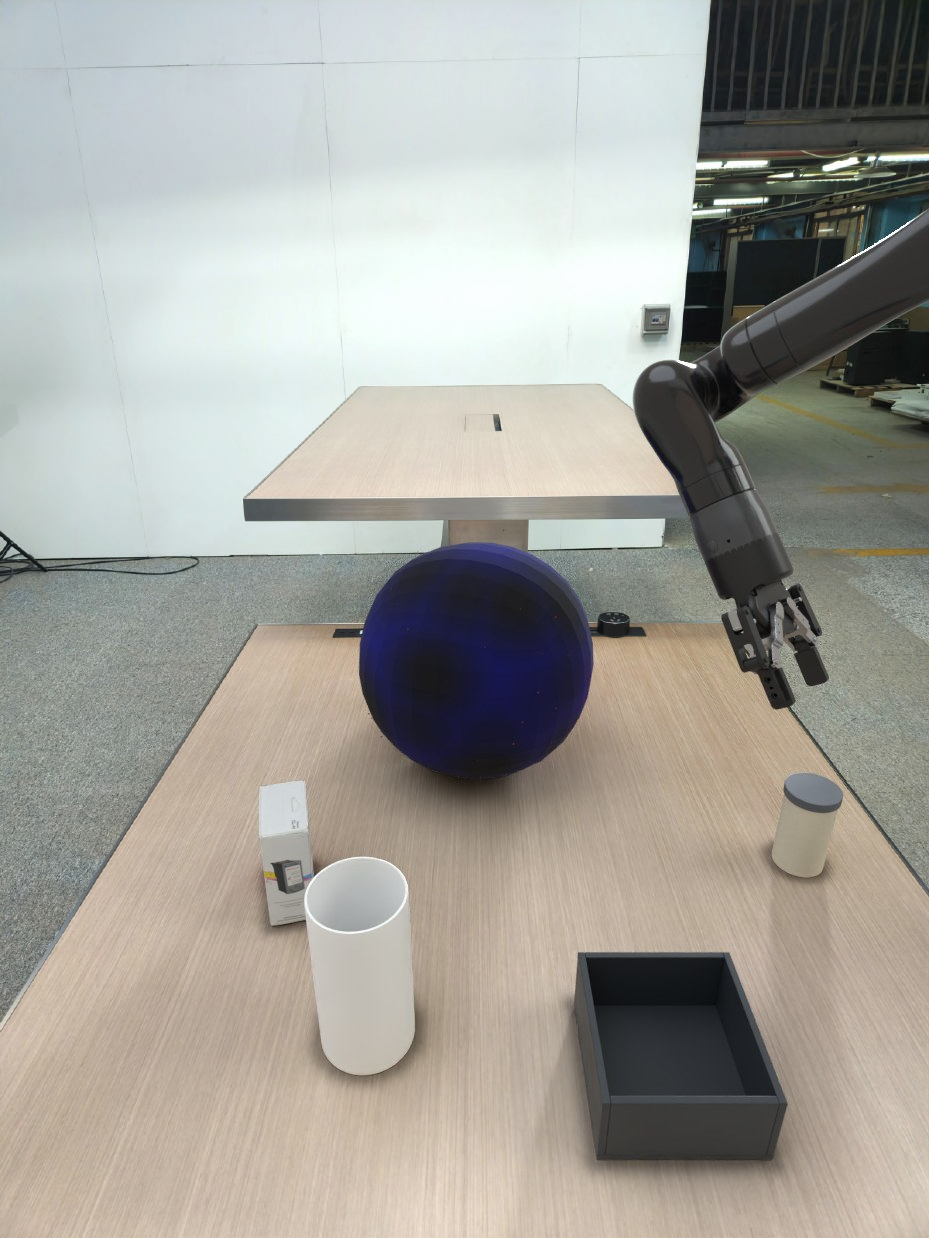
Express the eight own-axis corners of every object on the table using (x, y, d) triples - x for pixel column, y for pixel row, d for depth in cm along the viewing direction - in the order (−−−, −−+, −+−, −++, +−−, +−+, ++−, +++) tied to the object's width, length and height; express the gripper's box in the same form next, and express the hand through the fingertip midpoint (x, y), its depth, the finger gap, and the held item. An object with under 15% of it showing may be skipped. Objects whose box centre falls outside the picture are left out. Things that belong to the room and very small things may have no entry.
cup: (403, 1082, 62) (394, 940, 55) (307, 1067, 63) (287, 926, 56) (423, 996, 69) (418, 861, 62) (337, 984, 70) (323, 851, 63)
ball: (296, 791, 97) (269, 574, 84) (394, 678, 123) (384, 501, 111) (560, 850, 86) (574, 612, 74) (604, 713, 113) (619, 522, 101)
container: (812, 842, 87) (828, 771, 83) (834, 878, 82) (853, 805, 78) (762, 842, 87) (776, 772, 83) (781, 879, 82) (797, 805, 78)
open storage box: (719, 1004, 68) (729, 951, 65) (772, 1159, 56) (788, 1103, 53) (573, 1004, 68) (577, 951, 65) (596, 1159, 56) (602, 1103, 53)
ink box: (268, 869, 84) (255, 783, 79) (314, 861, 85) (304, 776, 80) (269, 929, 76) (255, 838, 71) (320, 920, 77) (309, 829, 72)
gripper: (740, 539, 68) (811, 707, 67) (802, 521, 78) (864, 667, 76) (673, 569, 74) (737, 724, 72) (738, 548, 83) (796, 685, 82)
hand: (802, 695), depth 74 cm, fingers open, 8 cm apart
